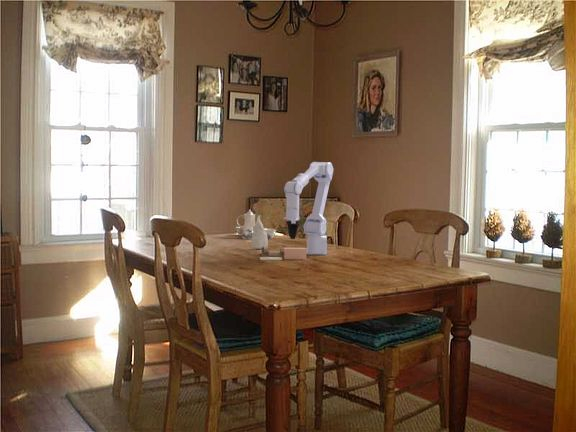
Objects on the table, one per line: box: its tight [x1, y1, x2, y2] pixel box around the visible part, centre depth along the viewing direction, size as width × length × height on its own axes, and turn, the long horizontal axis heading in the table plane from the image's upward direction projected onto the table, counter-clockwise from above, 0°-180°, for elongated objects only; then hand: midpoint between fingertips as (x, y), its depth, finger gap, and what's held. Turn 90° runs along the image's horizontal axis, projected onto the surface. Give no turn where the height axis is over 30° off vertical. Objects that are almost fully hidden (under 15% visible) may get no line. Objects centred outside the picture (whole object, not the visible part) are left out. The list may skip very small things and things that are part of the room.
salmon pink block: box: [283, 247, 307, 260], centre depth 314 cm, size 10×4×5 cm, turn 92°
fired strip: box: [259, 256, 283, 261], centre depth 312 cm, size 10×4×1 cm, turn 92°
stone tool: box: [250, 219, 269, 250], centre depth 342 cm, size 9×3×15 cm, turn 111°
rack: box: [261, 247, 288, 258], centre depth 322 cm, size 12×9×3 cm
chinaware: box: [233, 209, 278, 240], centre depth 387 cm, size 28×17×17 cm, turn 66°
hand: (292, 237), depth 315 cm, fingers open, 7 cm apart
